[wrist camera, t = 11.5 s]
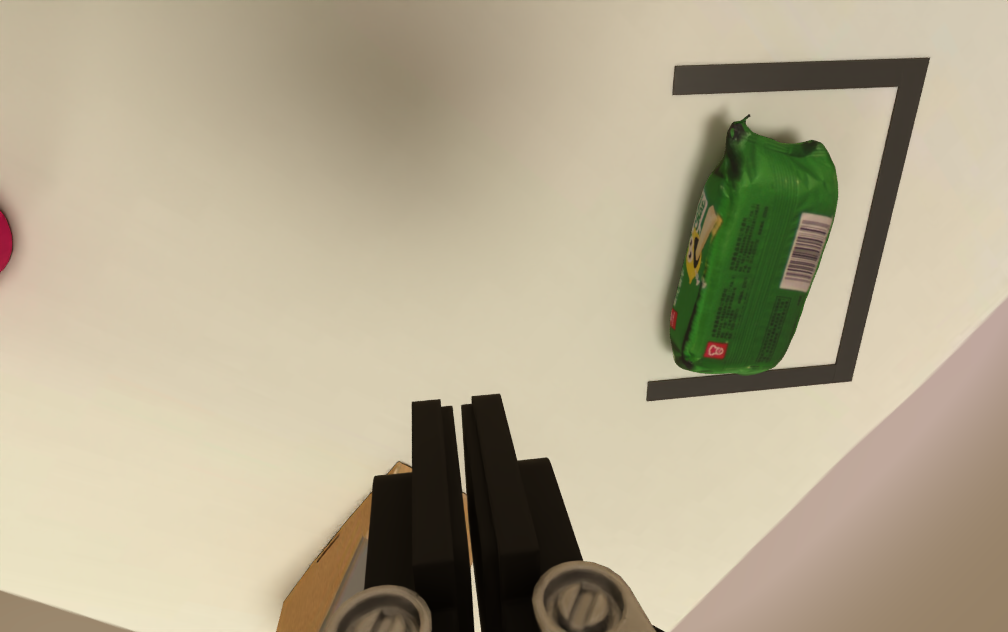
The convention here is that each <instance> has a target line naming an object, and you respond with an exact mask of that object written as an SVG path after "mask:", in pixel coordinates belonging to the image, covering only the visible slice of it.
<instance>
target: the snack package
mask: <svg viewBox="0 0 1008 632" xmlns="http://www.w3.org/2000/svg"><path fill="white" fill-rule="evenodd" d="M748 117H750V114H749V115H748V116H746V117H745V118H744V119H743V120H741V121H736V122H733V123H732V124H731V126H730V128H729V130H728V132H727V139H726V149H725V153H724V156H723V158H722V160H721V162H720V163H719V164H718V166H717V167H716V168H715V170H714V171H713V172H712V173H711V175H710V176H709V178H708V180H707V182H706V184H705V186H704V188H703V192H702V195H701V198H700V201H699V203H698V206H697V211H696V216H695V220H694V224H693V228H692V232H691V236H690V240H689V243H688V247H687V252H686V256H685V259H684V263H683V267H682V272H681V276H680V280H679V284H678V287H677V292H676V296H675V300H674V304H673V307H672V311H671V317H670V338H671V343H672V350H673V357H674V360H675V363H676V364H677V365H678V366H679V367H680V368H682V369H685V370H689V371H693V372H697V373H705V374H726V373H737V374H739V375H742V376H749V375H754V374H758V373H761V372H764V371H767V370H769V369H771V368H774V367H775V366H776V365H777V364H778V363H779V362H780V361H781V360H782V358H783V357H784V355H785V353H786V351H787V349H788V347H789V345H790V342H791V340H792V338H793V336H794V334H795V331H796V328H797V325H798V322H799V319H800V316H801V314H802V311H803V307H804V304H805V301H806V298H807V296H808V293H809V290H810V288H811V285H812V282H813V280H814V277H815V275H816V272H817V270H818V268H819V265H820V261H821V258H822V254H823V251H824V249H825V246H826V243H827V241H828V238H829V234H830V231H831V228H832V225H833V221H834V217H835V212H836V207H837V200H838V182H837V175H836V169H835V166H834V164H833V162H832V159H831V157H830V155H829V153H828V151H827V149H826V148H825V146H824V145H823V144H822V143H821V142H818V141H815V140H809V141H806V142H801V143H780V142H777V141H775V140H774V139H771V138H767V137H764V136H761V135H758V134H756V133H754V132H752V131H751V130H750V129H749V128H748V127H747V125H746V119H747V118H748Z"/></svg>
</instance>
